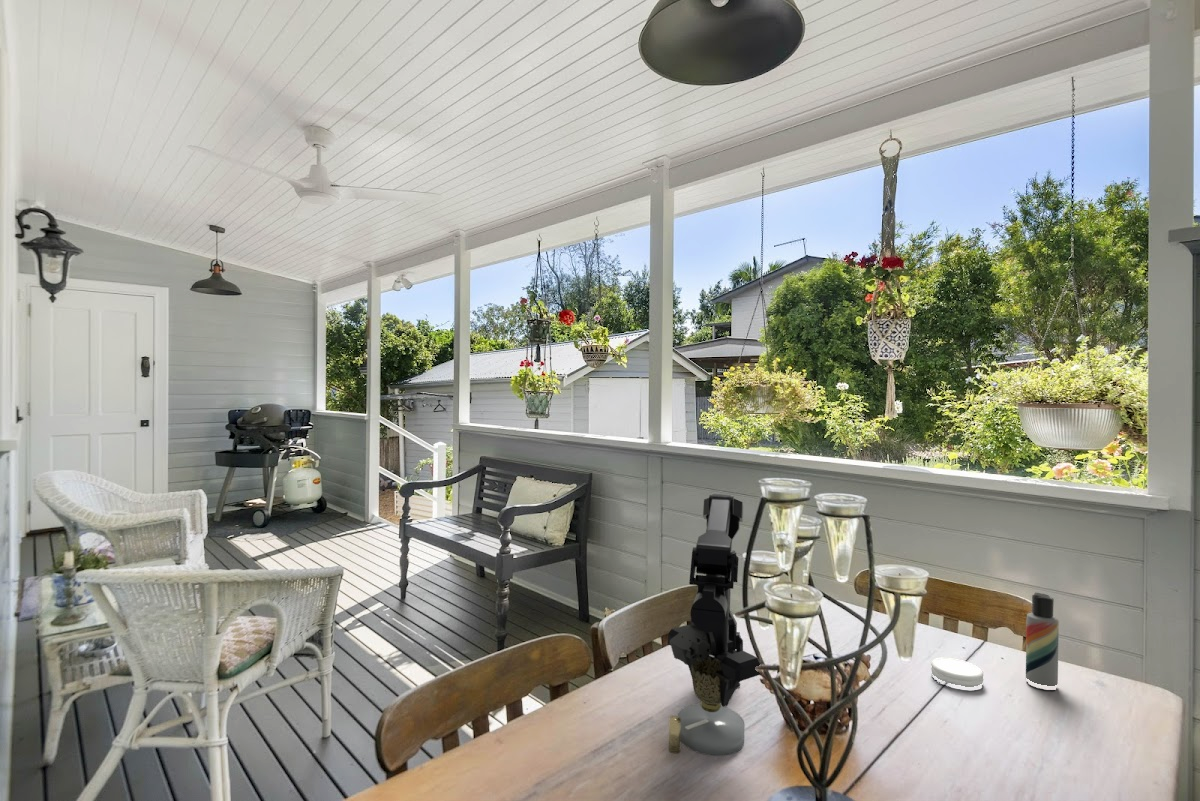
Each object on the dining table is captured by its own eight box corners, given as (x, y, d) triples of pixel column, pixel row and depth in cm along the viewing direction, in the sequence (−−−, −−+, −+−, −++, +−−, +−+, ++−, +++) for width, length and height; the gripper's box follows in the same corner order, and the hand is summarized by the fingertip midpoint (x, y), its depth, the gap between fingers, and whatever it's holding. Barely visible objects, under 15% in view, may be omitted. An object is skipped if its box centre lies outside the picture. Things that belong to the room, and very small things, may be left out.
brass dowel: (675, 745, 106) (675, 714, 106) (682, 751, 104) (683, 719, 104) (666, 749, 105) (666, 717, 105) (673, 755, 103) (674, 722, 103)
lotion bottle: (1025, 677, 136) (1027, 588, 136) (1057, 684, 133) (1058, 593, 133) (1025, 686, 132) (1026, 594, 132) (1058, 694, 128) (1059, 600, 128)
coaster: (928, 683, 132) (928, 667, 132) (933, 668, 141) (933, 653, 141) (982, 697, 127) (982, 680, 127) (984, 679, 135) (984, 664, 135)
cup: (724, 724, 104) (725, 678, 104) (684, 712, 108) (685, 668, 108) (736, 704, 111) (737, 661, 111) (697, 694, 114) (698, 652, 114)
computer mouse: (711, 713, 117) (711, 696, 117) (758, 742, 107) (758, 724, 107) (663, 730, 111) (663, 713, 111) (709, 763, 101) (709, 744, 101)
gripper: (646, 604, 113) (644, 687, 113) (716, 638, 97) (715, 735, 97) (690, 594, 119) (689, 674, 119) (764, 625, 103) (762, 716, 103)
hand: (711, 697), depth 109 cm, fingers closed on cup, 6 cm apart
